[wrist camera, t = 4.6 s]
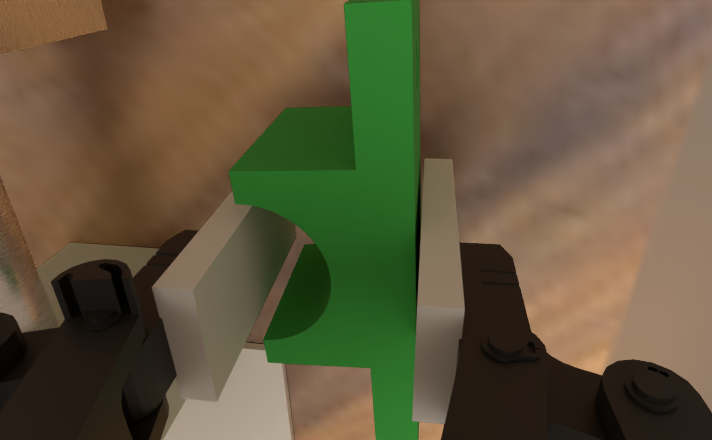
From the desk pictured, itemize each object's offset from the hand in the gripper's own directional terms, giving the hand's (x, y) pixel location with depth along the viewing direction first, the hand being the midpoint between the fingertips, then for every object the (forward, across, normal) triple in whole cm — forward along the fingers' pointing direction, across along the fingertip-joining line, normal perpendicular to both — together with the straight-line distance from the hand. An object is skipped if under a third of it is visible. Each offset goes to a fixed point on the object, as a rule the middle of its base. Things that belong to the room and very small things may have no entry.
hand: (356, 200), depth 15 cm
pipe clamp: (+1, 0, 0) cm, 1 cm away
